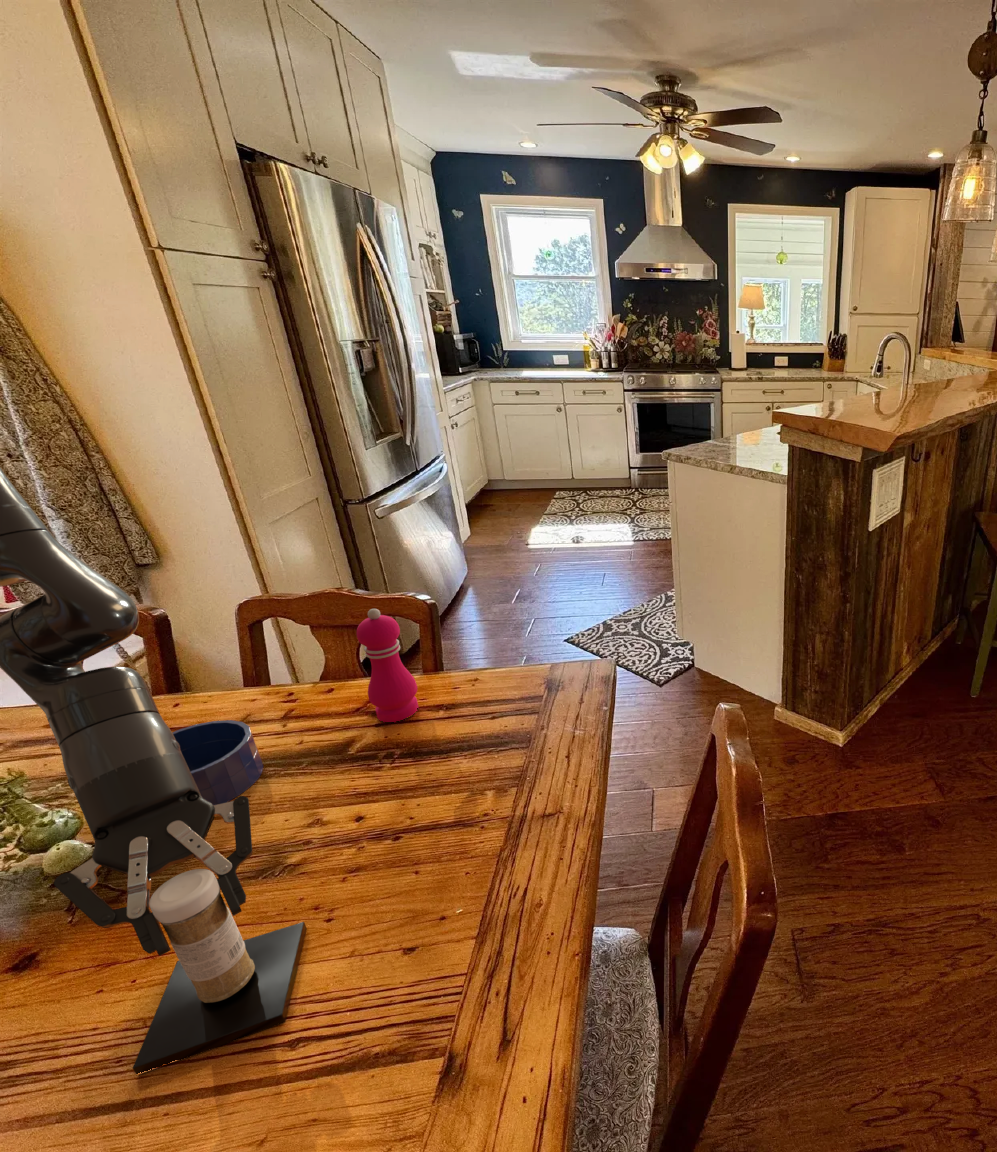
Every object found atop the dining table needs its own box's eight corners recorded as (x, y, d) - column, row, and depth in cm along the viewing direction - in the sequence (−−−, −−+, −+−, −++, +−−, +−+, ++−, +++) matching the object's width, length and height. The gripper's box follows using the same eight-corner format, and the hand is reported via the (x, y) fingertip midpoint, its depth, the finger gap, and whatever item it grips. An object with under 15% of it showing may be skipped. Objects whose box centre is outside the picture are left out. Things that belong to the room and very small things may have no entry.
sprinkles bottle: (224, 959, 64) (179, 865, 58) (267, 961, 64) (226, 867, 58) (184, 1005, 59) (132, 908, 54) (231, 1006, 59) (183, 909, 54)
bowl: (123, 831, 81) (104, 793, 78) (162, 768, 92) (147, 733, 89) (250, 801, 86) (236, 765, 84) (272, 745, 97) (260, 711, 95)
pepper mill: (393, 698, 110) (368, 598, 102) (430, 702, 109) (408, 601, 101) (364, 722, 103) (334, 617, 96) (403, 727, 102) (377, 621, 95)
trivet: (136, 1076, 55) (131, 1068, 55) (180, 968, 64) (176, 960, 64) (285, 1022, 60) (282, 1014, 59) (307, 928, 69) (304, 921, 68)
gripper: (225, 746, 67) (292, 887, 65) (29, 821, 57) (100, 991, 54) (222, 726, 62) (294, 878, 59) (6, 804, 51) (83, 992, 49)
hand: (201, 931), depth 57 cm, fingers closed on sprinkles bottle, 4 cm apart
